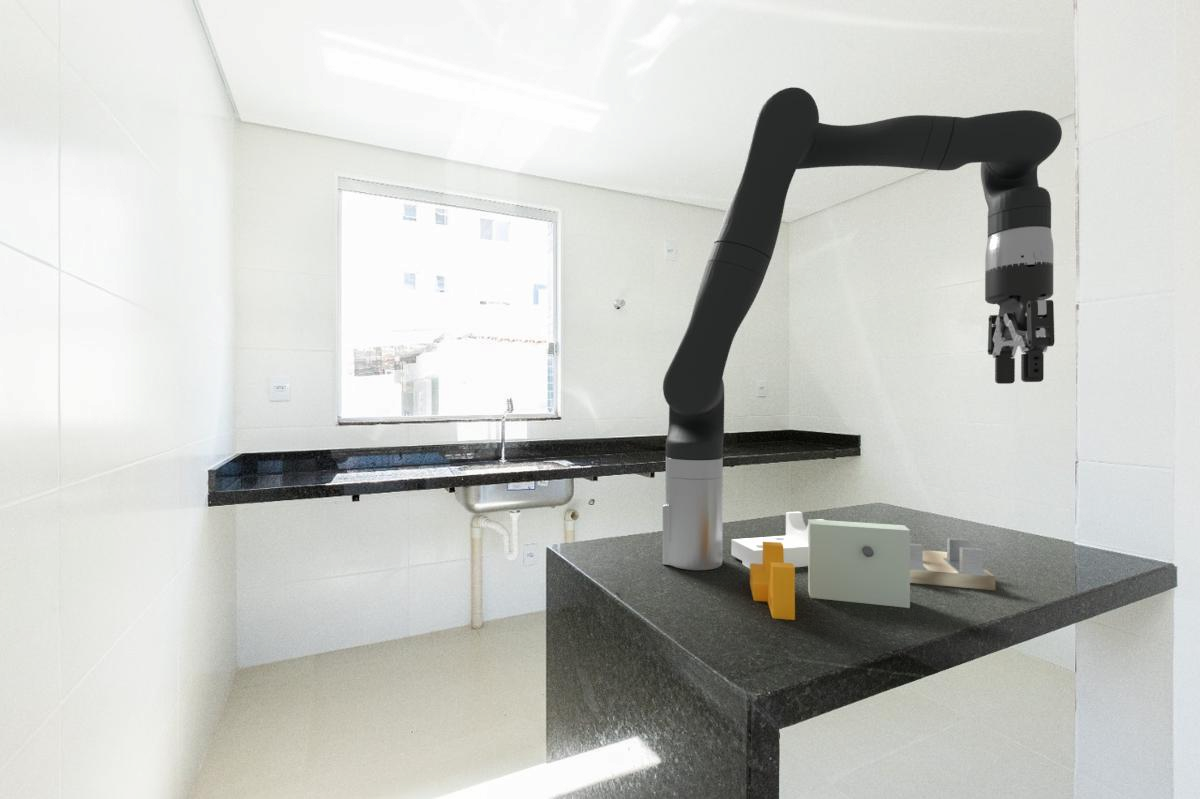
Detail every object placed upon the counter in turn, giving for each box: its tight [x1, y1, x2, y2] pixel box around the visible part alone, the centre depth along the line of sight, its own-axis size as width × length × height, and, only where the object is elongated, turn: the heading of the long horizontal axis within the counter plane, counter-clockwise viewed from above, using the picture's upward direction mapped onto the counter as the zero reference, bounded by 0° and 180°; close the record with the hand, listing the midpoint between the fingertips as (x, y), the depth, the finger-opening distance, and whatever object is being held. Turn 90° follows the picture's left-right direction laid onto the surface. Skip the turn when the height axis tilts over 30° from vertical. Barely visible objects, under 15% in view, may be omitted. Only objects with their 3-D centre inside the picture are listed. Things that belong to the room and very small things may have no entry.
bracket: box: [730, 511, 825, 570], centre depth 89 cm, size 13×7×8 cm, turn 105°
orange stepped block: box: [749, 542, 796, 621], centre depth 72 cm, size 12×4×6 cm, turn 169°
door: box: [807, 518, 911, 609], centre depth 72 cm, size 12×4×10 cm, turn 73°
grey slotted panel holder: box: [910, 534, 988, 576], centre depth 81 cm, size 11×7×4 cm, turn 73°
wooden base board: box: [910, 549, 996, 591], centre depth 83 cm, size 13×12×2 cm
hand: (1017, 382), depth 75 cm, fingers open, 8 cm apart
